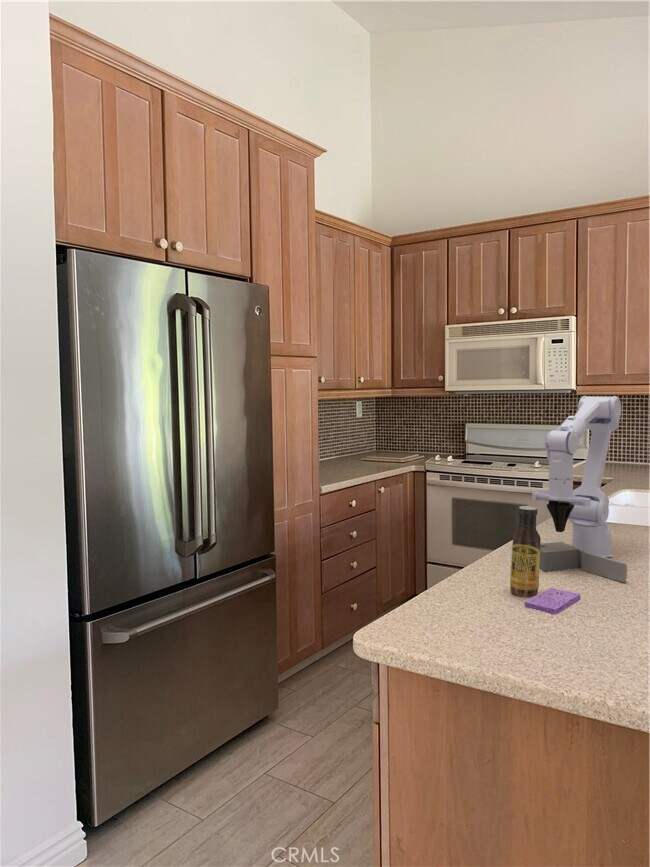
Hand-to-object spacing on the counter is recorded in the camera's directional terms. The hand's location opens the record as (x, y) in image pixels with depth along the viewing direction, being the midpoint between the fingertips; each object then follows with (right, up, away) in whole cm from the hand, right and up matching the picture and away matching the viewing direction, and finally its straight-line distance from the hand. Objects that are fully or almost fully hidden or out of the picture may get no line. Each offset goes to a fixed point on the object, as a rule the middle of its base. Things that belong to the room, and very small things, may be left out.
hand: (560, 531), depth 166 cm
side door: (+8, -10, -5) cm, 14 cm away
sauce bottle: (-14, -12, -17) cm, 25 cm away
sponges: (-10, -13, -23) cm, 28 cm away
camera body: (-1, -10, +4) cm, 10 cm away
